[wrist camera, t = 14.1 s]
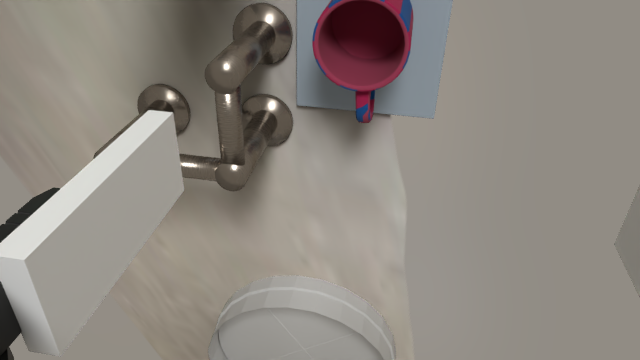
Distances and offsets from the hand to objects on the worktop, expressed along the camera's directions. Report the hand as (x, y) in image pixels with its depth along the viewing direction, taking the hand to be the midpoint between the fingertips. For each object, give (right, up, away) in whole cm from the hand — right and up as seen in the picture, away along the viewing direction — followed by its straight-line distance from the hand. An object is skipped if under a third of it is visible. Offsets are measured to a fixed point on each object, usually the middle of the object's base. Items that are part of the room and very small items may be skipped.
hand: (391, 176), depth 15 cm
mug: (+2, +11, +26) cm, 29 cm away
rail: (-12, +10, +31) cm, 35 cm away
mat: (+2, +11, +27) cm, 29 cm away
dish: (-4, -20, +49) cm, 53 cm away
